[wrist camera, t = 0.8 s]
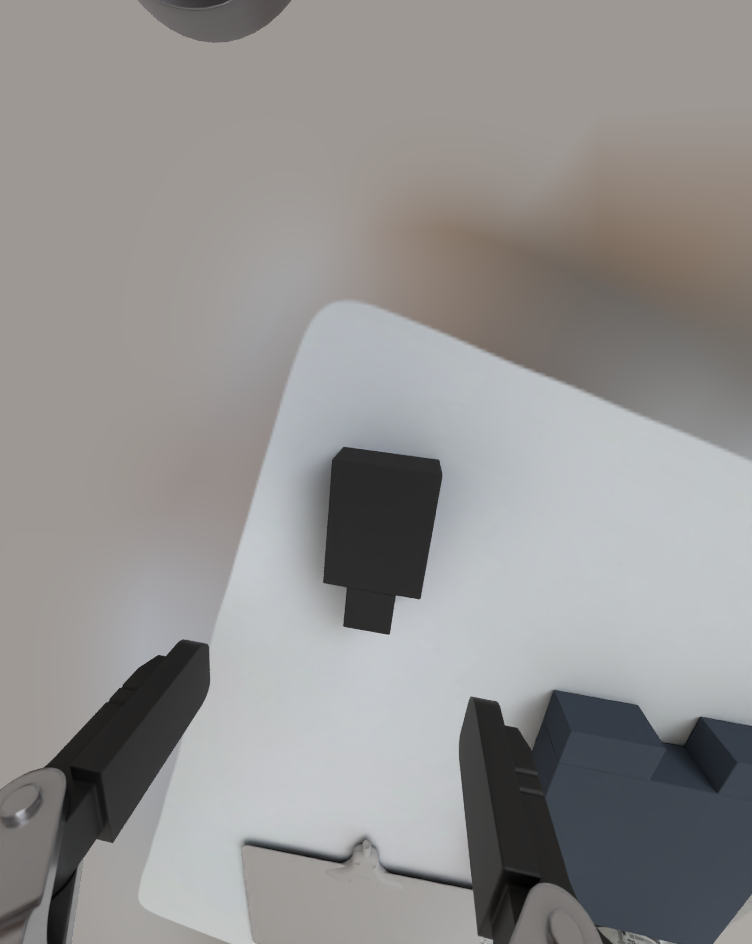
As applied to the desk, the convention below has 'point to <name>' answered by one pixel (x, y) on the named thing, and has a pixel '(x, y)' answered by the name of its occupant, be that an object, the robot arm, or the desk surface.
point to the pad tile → (379, 531)
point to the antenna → (350, 902)
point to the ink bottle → (625, 937)
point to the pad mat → (649, 817)
